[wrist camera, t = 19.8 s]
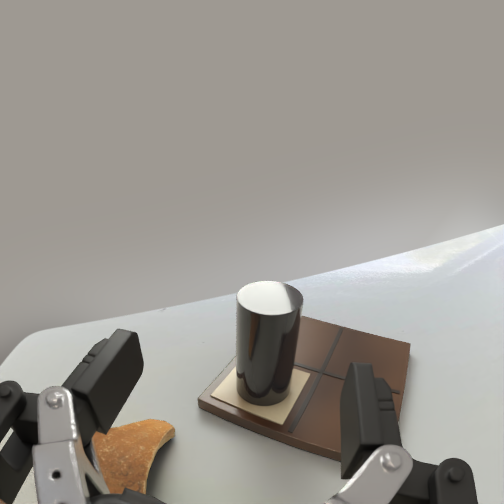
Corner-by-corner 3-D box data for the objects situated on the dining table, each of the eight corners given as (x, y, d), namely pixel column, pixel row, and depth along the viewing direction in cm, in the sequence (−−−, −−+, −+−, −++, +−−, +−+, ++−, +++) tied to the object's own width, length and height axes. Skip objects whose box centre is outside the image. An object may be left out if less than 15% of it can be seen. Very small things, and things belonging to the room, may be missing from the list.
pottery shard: (172, 424, 23) (168, 405, 22) (197, 523, 15) (192, 511, 14) (54, 431, 20) (42, 412, 19) (49, 526, 12) (32, 513, 11)
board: (198, 407, 25) (196, 397, 24) (275, 316, 38) (276, 307, 38) (383, 472, 18) (389, 464, 18) (407, 351, 32) (411, 342, 31)
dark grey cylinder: (225, 393, 25) (223, 302, 21) (251, 362, 29) (255, 275, 25) (277, 414, 23) (288, 322, 20) (298, 378, 27) (312, 290, 23)
